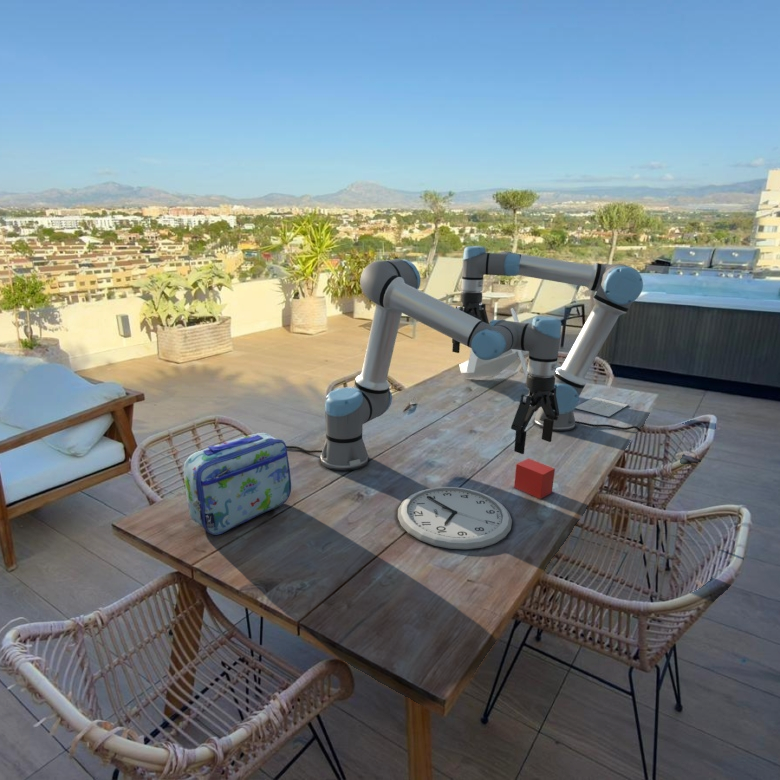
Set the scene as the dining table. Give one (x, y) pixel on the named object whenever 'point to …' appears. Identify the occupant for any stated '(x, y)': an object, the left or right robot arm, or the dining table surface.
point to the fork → (411, 403)
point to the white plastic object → (493, 361)
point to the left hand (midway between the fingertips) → (533, 446)
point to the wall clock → (454, 518)
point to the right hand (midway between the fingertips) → (468, 349)
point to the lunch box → (236, 481)
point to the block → (534, 478)
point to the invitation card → (601, 406)
